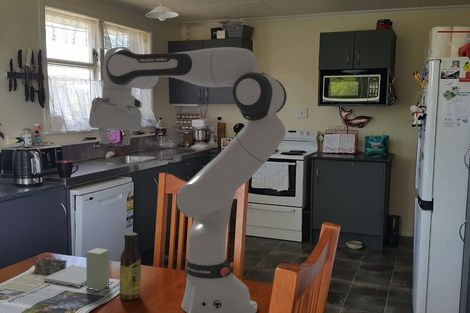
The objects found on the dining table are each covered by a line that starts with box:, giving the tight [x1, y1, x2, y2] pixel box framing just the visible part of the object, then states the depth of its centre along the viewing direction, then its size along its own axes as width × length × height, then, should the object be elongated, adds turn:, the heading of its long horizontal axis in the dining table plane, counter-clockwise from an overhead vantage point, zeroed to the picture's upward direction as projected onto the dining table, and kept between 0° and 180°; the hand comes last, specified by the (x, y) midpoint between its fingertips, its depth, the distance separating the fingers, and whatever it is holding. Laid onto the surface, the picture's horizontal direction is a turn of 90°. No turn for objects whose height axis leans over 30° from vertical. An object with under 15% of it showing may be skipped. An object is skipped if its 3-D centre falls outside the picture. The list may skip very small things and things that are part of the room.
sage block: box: [85, 247, 110, 291], centre depth 149 cm, size 5×5×12 cm
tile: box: [43, 264, 87, 288], centre depth 157 cm, size 14×14×1 cm
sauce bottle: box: [119, 232, 142, 301], centre depth 141 cm, size 6×6×20 cm
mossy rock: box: [32, 256, 69, 275], centre depth 164 cm, size 11×8×4 cm
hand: (115, 144), depth 144 cm, fingers open, 8 cm apart
